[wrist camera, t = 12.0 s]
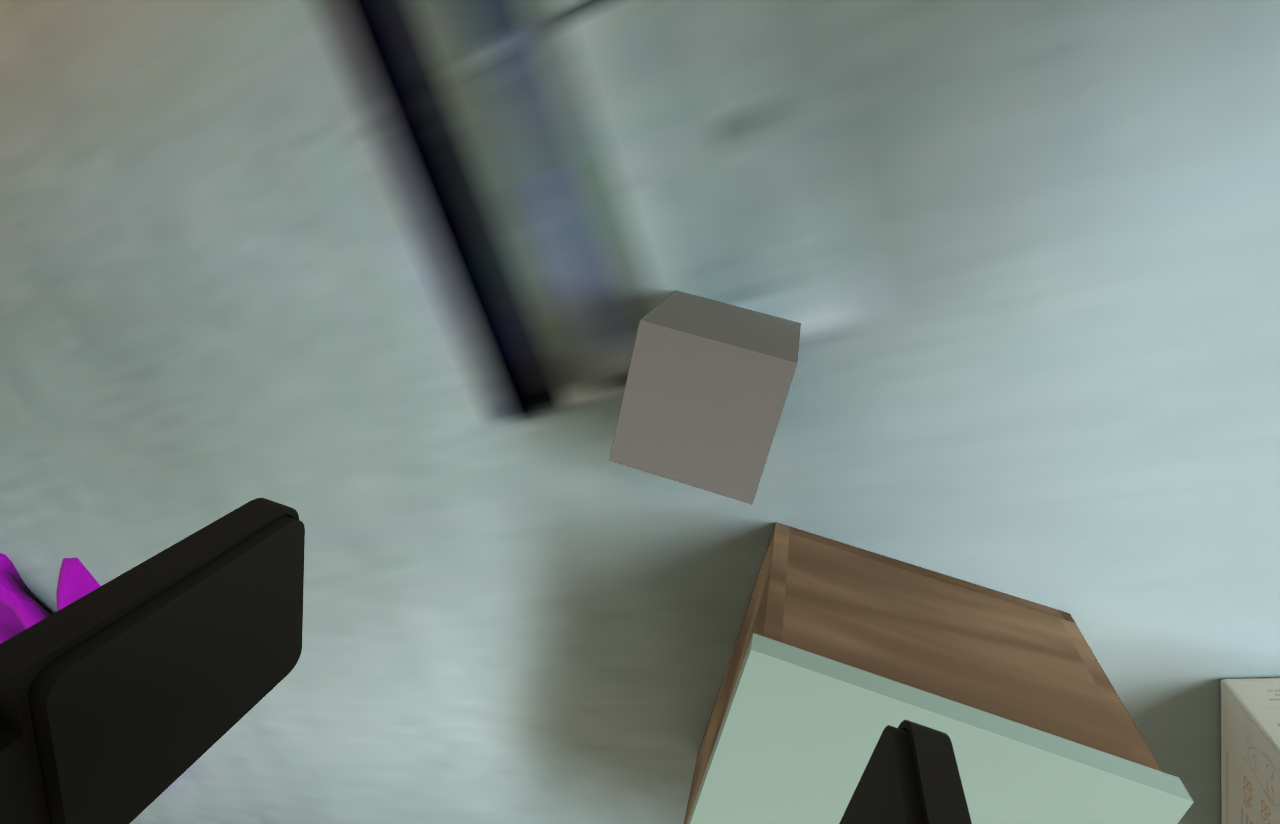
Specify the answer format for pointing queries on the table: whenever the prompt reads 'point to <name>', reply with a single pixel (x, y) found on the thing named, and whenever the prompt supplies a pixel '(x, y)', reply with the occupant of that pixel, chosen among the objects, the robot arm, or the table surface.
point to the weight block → (705, 394)
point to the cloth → (12, 608)
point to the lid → (866, 703)
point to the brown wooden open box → (929, 642)
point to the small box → (1250, 751)
